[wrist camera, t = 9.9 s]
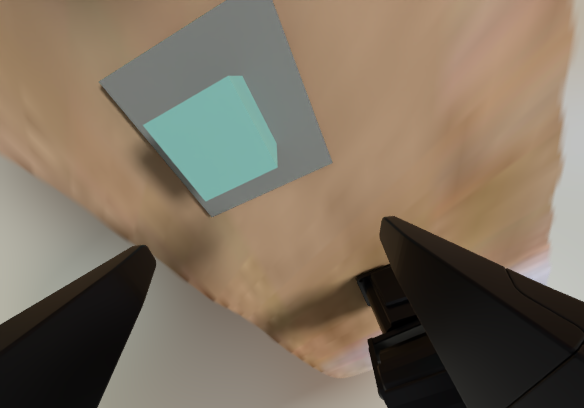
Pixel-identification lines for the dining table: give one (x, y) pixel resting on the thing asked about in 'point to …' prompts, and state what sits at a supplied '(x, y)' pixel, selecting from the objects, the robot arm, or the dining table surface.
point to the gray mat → (214, 67)
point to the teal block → (217, 138)
